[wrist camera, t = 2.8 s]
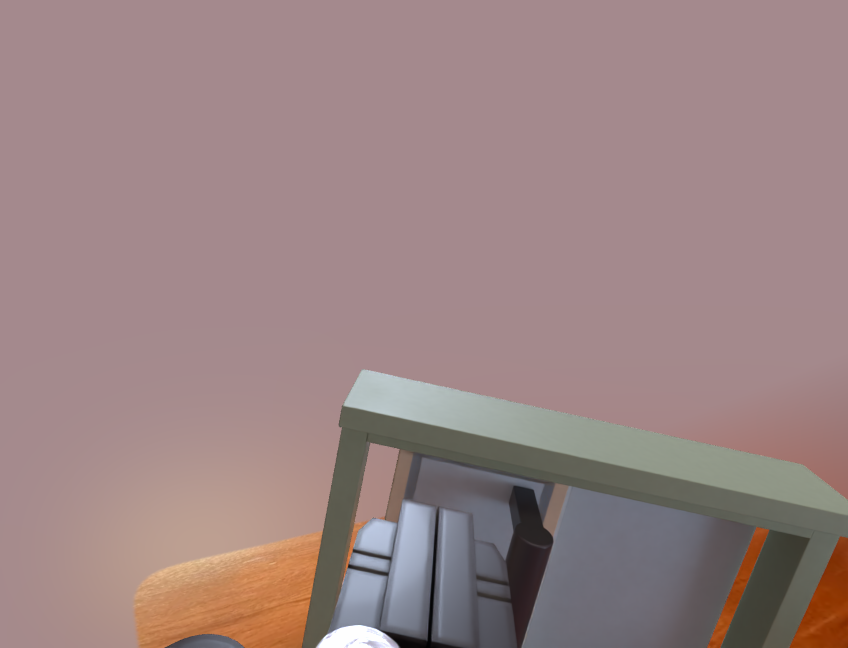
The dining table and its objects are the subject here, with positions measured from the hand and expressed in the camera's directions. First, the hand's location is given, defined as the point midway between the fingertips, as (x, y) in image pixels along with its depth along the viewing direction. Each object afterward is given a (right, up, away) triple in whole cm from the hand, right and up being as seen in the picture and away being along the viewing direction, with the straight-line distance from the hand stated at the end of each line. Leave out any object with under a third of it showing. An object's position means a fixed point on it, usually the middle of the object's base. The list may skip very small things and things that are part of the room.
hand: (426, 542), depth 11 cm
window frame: (+4, -17, +17) cm, 24 cm away
